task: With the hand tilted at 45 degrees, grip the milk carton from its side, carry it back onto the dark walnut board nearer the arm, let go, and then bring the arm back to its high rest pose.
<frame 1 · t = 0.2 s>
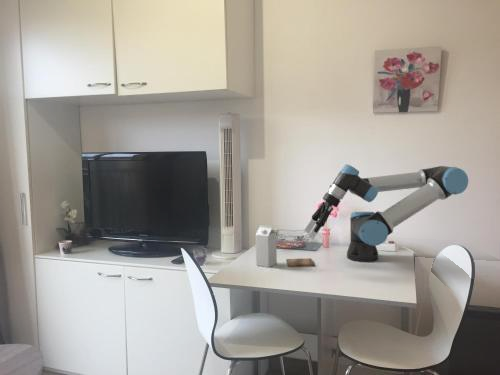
hand: (308, 234, 192), 15 cm above the table, tool tilted 35°, fingers open, 13 cm apart
milk carton: (266, 265, 199), on the table
walnut board: (300, 263, 200), on the table
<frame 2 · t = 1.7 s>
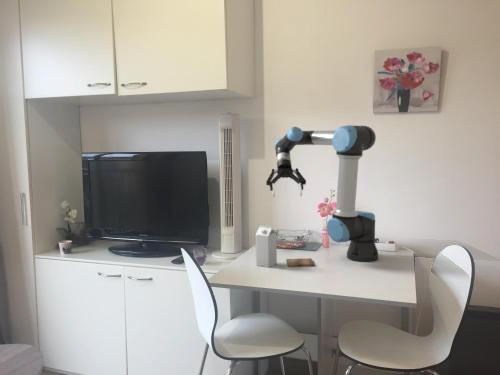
hand: (287, 194, 209), 32 cm above the table, tool tilted 45°, fingers open, 13 cm apart
nothing on the table moved.
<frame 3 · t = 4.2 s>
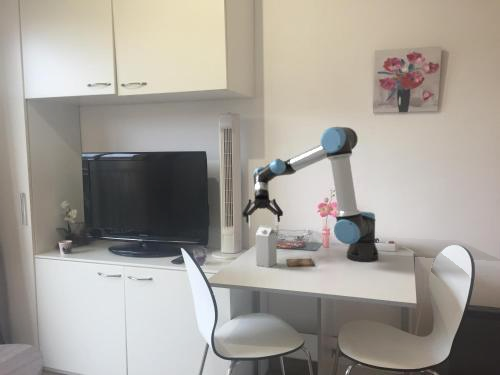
hand: (263, 227, 205), 17 cm above the table, tool tilted 45°, fingers open, 13 cm apart
nothing on the table moved.
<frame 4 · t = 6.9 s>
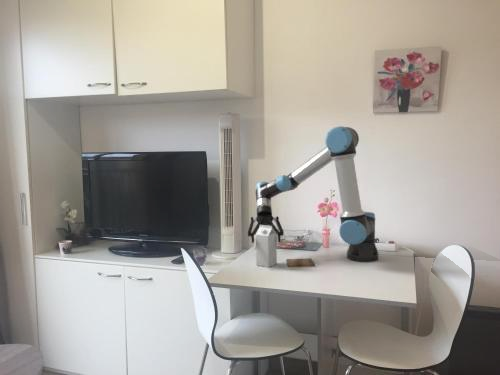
hand: (266, 247, 195), 9 cm above the table, tool tilted 45°, fingers closed on milk carton, 10 cm apart
milk carton: (266, 265, 199), on the table, touching gripper
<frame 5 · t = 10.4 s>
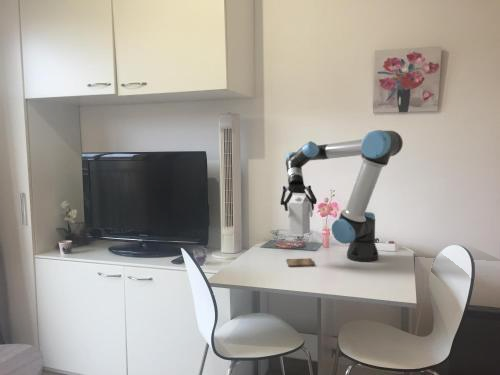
hand: (300, 215, 194), 24 cm above the table, tool tilted 45°, fingers closed on milk carton, 10 cm apart
milk carton: (299, 233, 198), point 15 cm above the table, touching gripper
when the fingers open (11 cm above the table, at t = 13.9 s): milk carton stays where it is, resting on walnut board.
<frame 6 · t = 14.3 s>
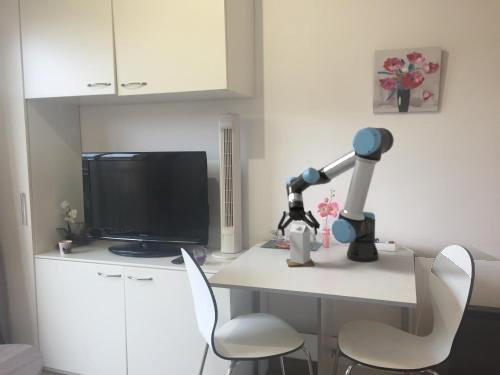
hand: (300, 240, 196), 12 cm above the table, tool tilted 45°, fingers open, 13 cm apart
milk carton: (300, 261, 200), point 1 cm above the table, touching walnut board
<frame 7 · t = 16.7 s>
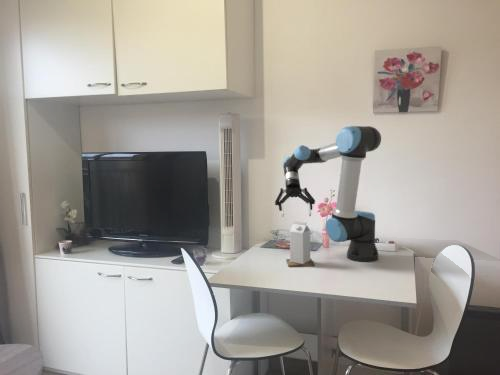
hand: (296, 215, 208), 22 cm above the table, tool tilted 45°, fingers open, 13 cm apart
nothing on the table moved.
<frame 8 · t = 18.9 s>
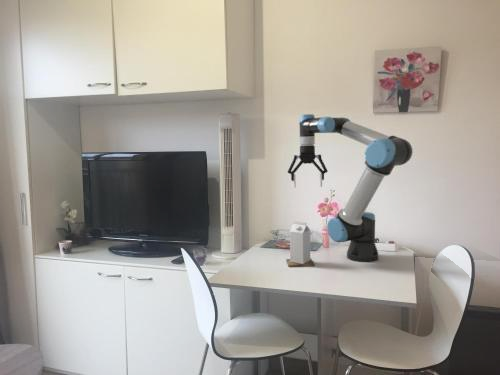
hand: (307, 186, 215), 35 cm above the table, tool pointing down, fingers open, 13 cm apart
nothing on the table moved.
at the end: milk carton inside the target area on the walnut board (0.3 cm from its centre), point 0.8 cm above the walnut board's base; milk carton tilted 0°; the gripper is holding nothing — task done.
